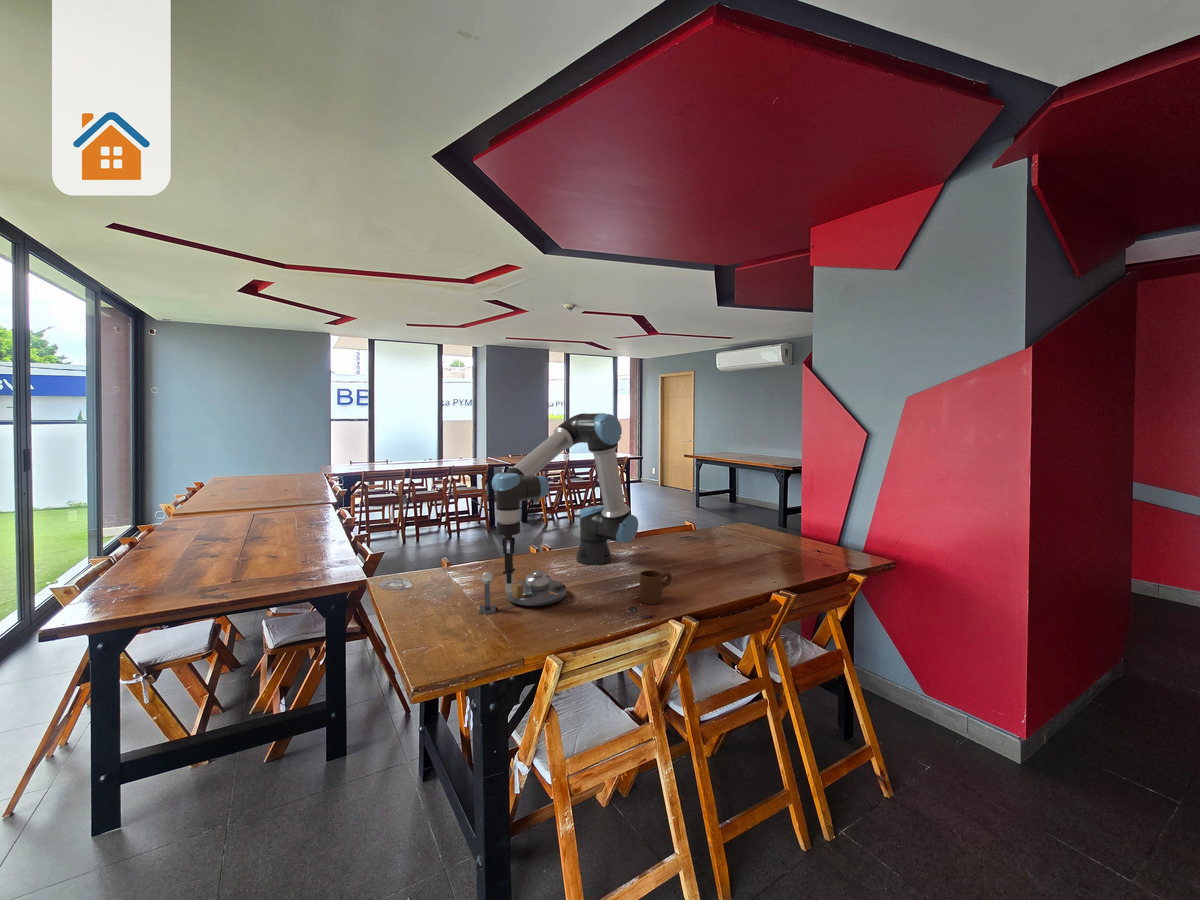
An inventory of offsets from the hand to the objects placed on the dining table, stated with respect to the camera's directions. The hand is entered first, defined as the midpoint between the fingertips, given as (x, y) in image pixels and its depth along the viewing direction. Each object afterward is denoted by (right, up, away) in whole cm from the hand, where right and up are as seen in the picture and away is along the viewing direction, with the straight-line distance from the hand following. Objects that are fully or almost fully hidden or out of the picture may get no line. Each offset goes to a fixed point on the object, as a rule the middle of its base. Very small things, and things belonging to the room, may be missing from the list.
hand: (509, 591), depth 161 cm
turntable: (+8, -3, +7) cm, 11 cm away
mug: (+49, -5, +6) cm, 50 cm away
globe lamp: (-6, -5, -4) cm, 9 cm away
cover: (+8, -1, +7) cm, 11 cm away
